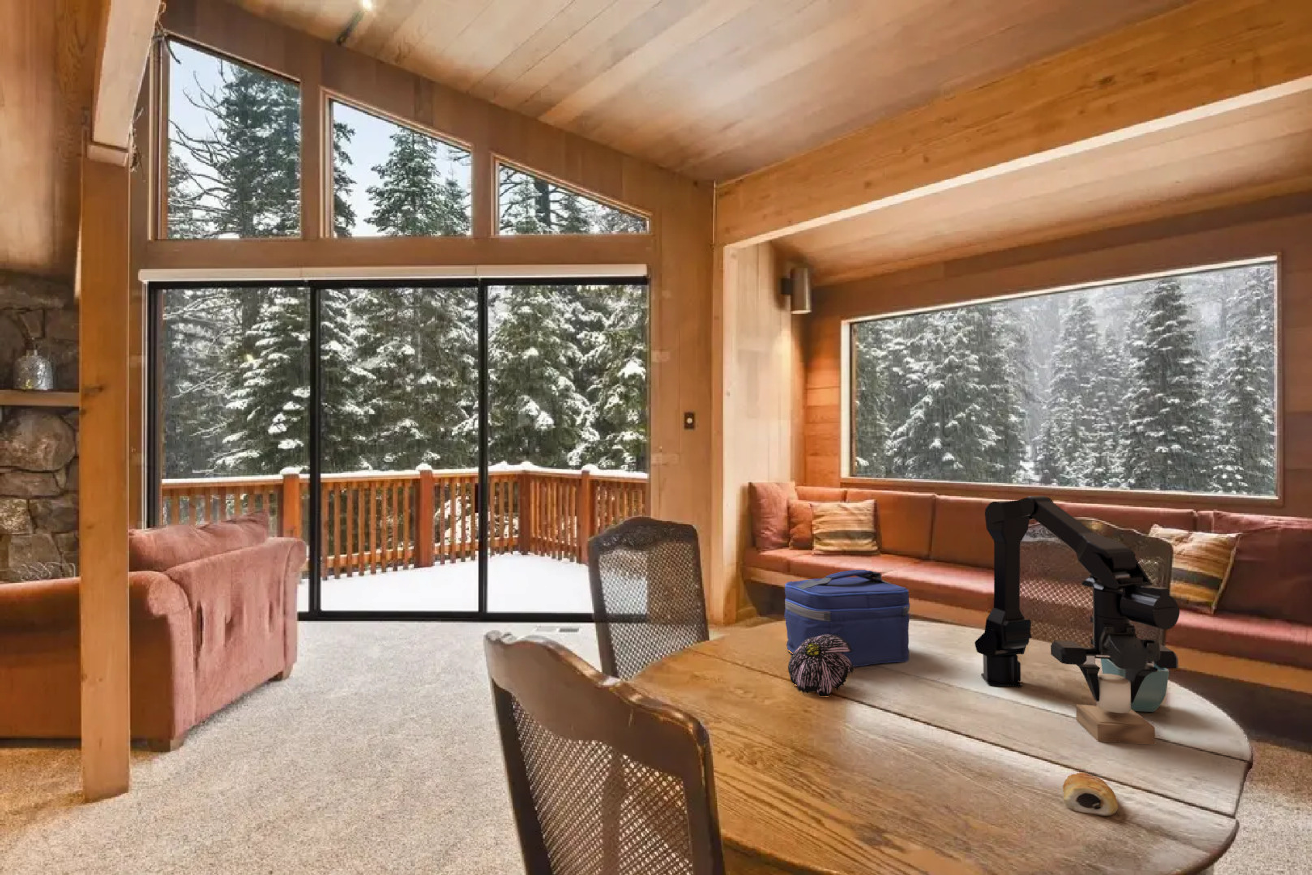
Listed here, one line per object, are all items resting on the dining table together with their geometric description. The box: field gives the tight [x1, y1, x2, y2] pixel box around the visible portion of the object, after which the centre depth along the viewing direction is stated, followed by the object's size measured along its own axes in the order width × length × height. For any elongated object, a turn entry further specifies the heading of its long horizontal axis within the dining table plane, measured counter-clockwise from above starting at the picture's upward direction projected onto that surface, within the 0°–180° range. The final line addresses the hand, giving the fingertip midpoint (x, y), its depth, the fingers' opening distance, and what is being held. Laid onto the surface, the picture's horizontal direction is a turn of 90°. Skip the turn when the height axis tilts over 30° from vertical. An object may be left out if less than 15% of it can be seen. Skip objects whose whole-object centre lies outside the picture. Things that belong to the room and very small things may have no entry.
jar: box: [1095, 673, 1131, 713], centre depth 124 cm, size 5×5×5 cm
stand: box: [1075, 704, 1156, 745], centre depth 124 cm, size 9×9×3 cm
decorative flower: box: [787, 634, 854, 697], centre depth 149 cm, size 15×12×15 cm
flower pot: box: [1100, 659, 1170, 713], centre depth 135 cm, size 9×9×9 cm
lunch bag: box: [784, 569, 911, 667], centre depth 171 cm, size 31×21×20 cm
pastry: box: [1062, 772, 1119, 817], centre depth 101 cm, size 9×7×4 cm
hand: (1113, 701), depth 124 cm, fingers closed on jar, 5 cm apart
